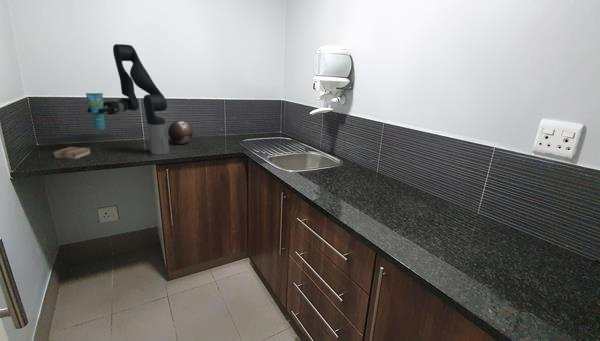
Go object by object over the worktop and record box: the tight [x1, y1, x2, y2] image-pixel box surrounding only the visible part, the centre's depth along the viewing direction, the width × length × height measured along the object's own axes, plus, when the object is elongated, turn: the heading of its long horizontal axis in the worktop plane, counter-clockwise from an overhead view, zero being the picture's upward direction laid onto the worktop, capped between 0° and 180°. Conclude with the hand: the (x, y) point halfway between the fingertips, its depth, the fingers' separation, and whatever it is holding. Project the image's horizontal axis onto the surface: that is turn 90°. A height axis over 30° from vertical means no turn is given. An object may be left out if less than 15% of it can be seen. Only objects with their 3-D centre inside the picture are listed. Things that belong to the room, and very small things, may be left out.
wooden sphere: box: [167, 120, 194, 145], centre depth 191 cm, size 15×15×15 cm
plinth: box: [53, 146, 91, 160], centre depth 155 cm, size 11×11×3 cm
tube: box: [85, 92, 106, 130], centre depth 157 cm, size 7×5×19 cm, turn 134°
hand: (93, 111), depth 154 cm, fingers closed on tube, 5 cm apart
